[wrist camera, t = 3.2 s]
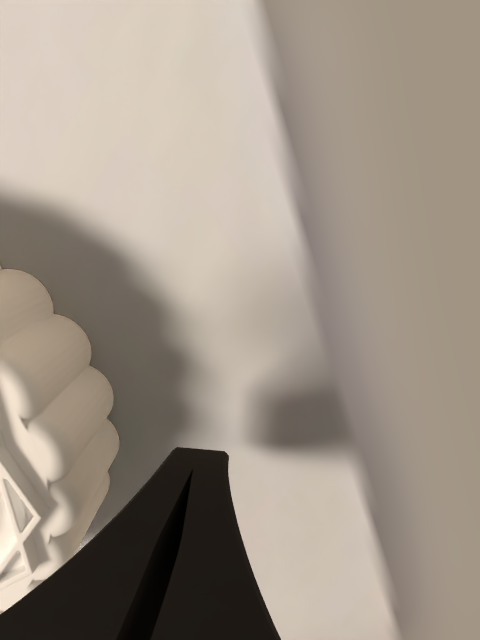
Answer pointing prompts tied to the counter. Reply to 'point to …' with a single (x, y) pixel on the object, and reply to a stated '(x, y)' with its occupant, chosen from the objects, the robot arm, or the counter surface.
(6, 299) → the mooncake
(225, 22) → the counter surface
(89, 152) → the counter surface
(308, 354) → the counter surface
